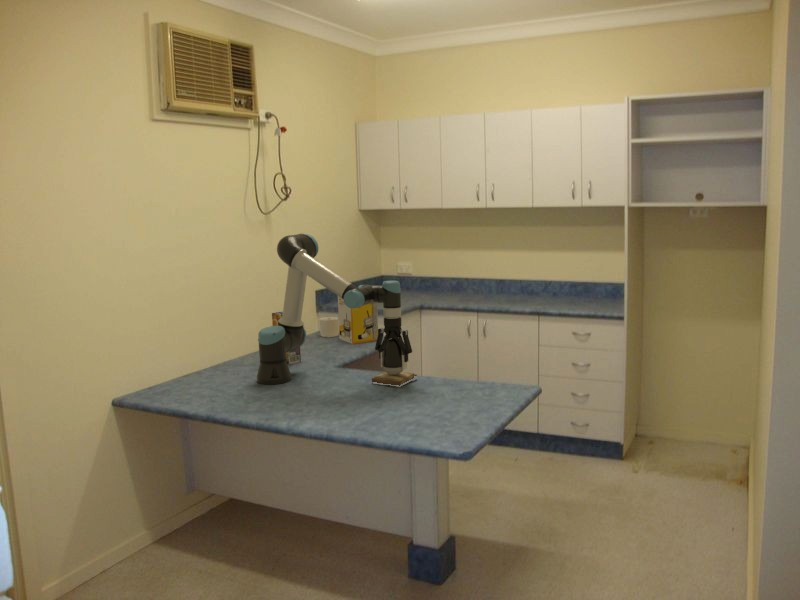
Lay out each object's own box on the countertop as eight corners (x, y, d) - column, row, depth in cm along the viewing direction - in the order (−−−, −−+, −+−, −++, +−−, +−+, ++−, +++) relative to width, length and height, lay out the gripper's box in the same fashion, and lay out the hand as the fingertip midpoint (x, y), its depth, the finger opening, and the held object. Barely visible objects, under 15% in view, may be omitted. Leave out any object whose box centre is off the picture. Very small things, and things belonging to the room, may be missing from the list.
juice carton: (300, 361, 358) (298, 313, 354) (288, 364, 353) (285, 315, 349) (286, 358, 367) (284, 311, 363) (274, 360, 362) (271, 313, 358)
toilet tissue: (333, 333, 429) (333, 316, 427) (343, 336, 419) (342, 318, 417) (317, 335, 423) (316, 318, 422) (326, 338, 413) (325, 321, 412)
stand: (399, 387, 305) (399, 380, 305) (372, 383, 313) (371, 377, 312) (416, 379, 317) (416, 373, 317) (389, 376, 324) (389, 369, 324)
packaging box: (378, 340, 404) (377, 295, 400) (352, 344, 396) (350, 298, 392) (365, 335, 418) (363, 292, 414) (339, 339, 410) (337, 295, 406)
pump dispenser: (407, 370, 318) (407, 336, 316) (403, 376, 308) (402, 341, 306) (385, 369, 320) (384, 335, 318) (379, 375, 310) (378, 340, 308)
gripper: (419, 317, 308) (421, 368, 311) (375, 313, 320) (376, 363, 323) (410, 320, 301) (412, 372, 305) (365, 316, 314) (367, 366, 317)
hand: (394, 367), depth 314 cm, fingers closed on pump dispenser, 10 cm apart
